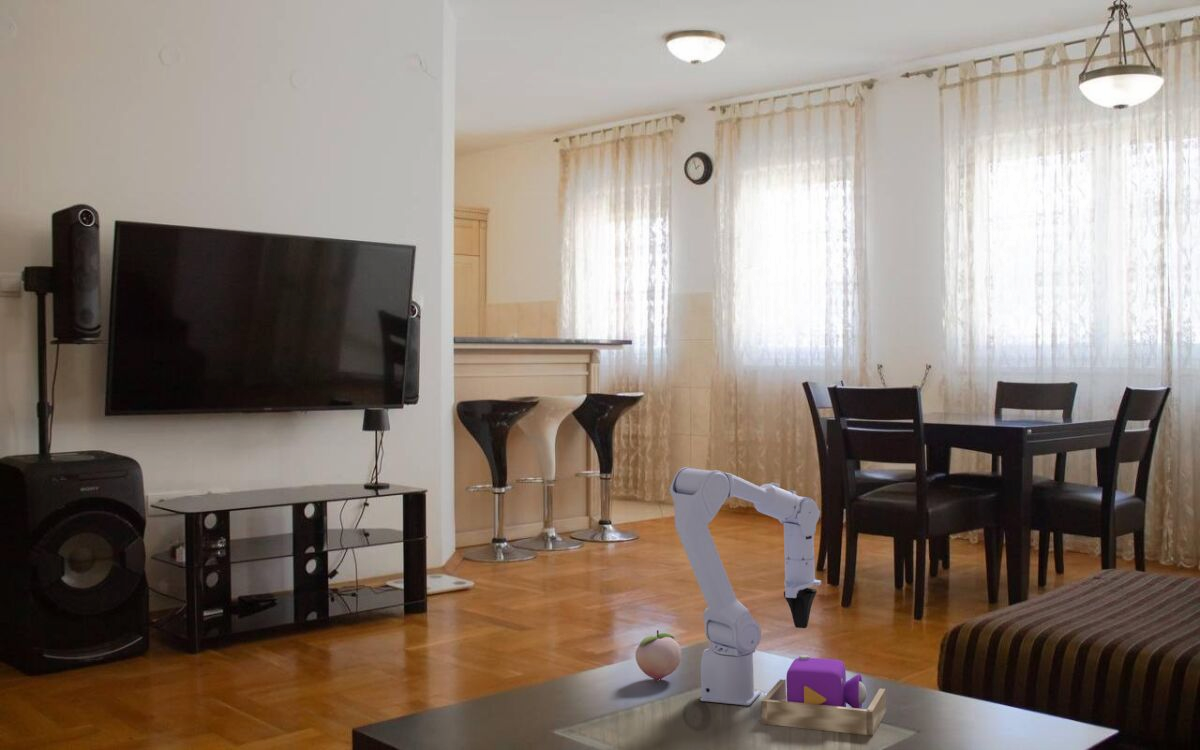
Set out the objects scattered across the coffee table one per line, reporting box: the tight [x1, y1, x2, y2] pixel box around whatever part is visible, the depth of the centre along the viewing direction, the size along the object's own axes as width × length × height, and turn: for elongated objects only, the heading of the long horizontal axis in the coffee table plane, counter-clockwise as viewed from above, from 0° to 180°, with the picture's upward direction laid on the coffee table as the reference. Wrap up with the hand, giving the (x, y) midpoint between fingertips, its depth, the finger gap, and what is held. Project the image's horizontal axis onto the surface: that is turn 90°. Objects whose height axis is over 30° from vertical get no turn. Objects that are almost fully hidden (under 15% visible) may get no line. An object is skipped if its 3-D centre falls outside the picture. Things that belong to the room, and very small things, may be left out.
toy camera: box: [785, 654, 867, 709], centre depth 195 cm, size 11×14×10 cm
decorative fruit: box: [634, 629, 682, 681], centre depth 220 cm, size 9×8×10 cm
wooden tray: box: [760, 679, 887, 736], centre depth 195 cm, size 19×13×4 cm
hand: (801, 627), depth 217 cm, fingers closed
